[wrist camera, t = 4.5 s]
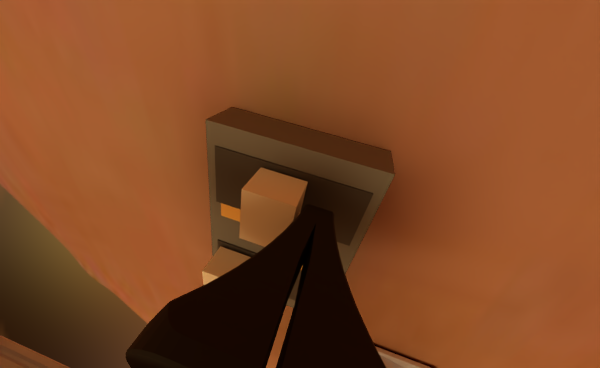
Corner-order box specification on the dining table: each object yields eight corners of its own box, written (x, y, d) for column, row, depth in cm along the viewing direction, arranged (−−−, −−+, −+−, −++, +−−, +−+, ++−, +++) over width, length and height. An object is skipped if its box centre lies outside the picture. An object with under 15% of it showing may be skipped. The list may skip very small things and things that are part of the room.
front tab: (307, 181, 11) (296, 206, 9) (296, 226, 13) (285, 254, 11) (260, 167, 11) (241, 189, 10) (256, 212, 13) (239, 237, 11)
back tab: (253, 258, 15) (239, 284, 13) (250, 283, 17) (237, 310, 15) (220, 246, 15) (202, 271, 14) (220, 272, 17) (204, 297, 15)
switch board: (391, 151, 12) (395, 175, 10) (328, 289, 19) (322, 320, 17) (232, 107, 13) (204, 120, 11) (229, 253, 20) (213, 278, 18)
